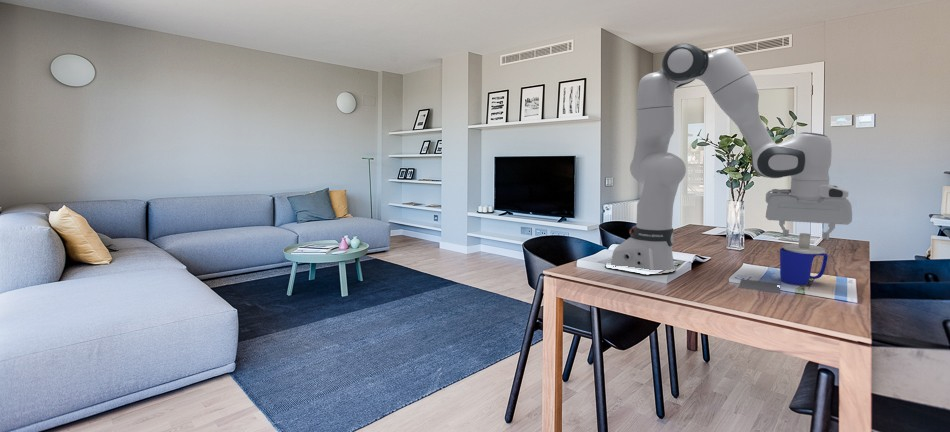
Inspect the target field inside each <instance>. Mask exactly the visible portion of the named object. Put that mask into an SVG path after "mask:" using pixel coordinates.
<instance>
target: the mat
mask: <svg viewBox="0 0 950 432" xmlns="http://www.w3.org/2000/svg"><path fill="white" fill-rule="evenodd" d="M777 285H781V286H782V284H781V283H779V282H778V283H776V282H769V281H761V280H753V279H745V278H741V279H740V282H739V284H738V289H746V290H753V291H762V292H768V293H774V294H775V293H776V294H781V287H780V288H779V287H777Z"/></svg>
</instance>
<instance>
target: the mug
mask: <svg viewBox="0 0 950 432" xmlns="http://www.w3.org/2000/svg"><path fill="white" fill-rule="evenodd" d="M817 256H823V259H822V264H821V268H820V271H819V273H818V274H816V275H813V276H812V275H811V273H812V272H811V271H812V267H813V263H814V262H813V261H814V258H815V257H817ZM828 257H829V254H827V253H826V252H825V253H823V254H803V253H795V252H790V251H786V250H784V249H783V247H780V249H779V263H780V264H779V273H780V274H779V275H780V276H779V277H780V281H782V282H783V283H785V284H789V285H794V286H804V285H805V286H806V285H807V284H808V283H809V281H810V279H814V280H818V279H820V278H821V277H823V275H824V273H825V270H826V268H827V263H828V259H829V258H828Z"/></svg>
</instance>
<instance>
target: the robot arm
mask: <svg viewBox="0 0 950 432" xmlns="http://www.w3.org/2000/svg"><path fill="white" fill-rule="evenodd" d="M696 80H700V81H702V83H704V85H705V86H706V87H707V89H708V90H709V93H710V94H711V96H712V98H713V99H714V101H715V102H716V104H717V105H718V107H719V108H720V109H721V110H722V111H723V113H725V114H726V115H727V117H729V119H731V121H733V122H734V123H735V125H736V126H737V128H738V130H739V131H740V133H741V135H742V137H743V139H744V141H745V142H746V144H747V146H748V148H749V150H750V155H751V157H750V158H751V159H750V161H751V167H752V169H753V171H754V172H755V174H757V175H759V176H760V177H762V178H768V179H769V178H770V179H781V178H784V177H789V176H790V177H791V180H790V189H786V188H785V189H782V188H781V189H780V188H779V189H777V188H773V189H771V190H768V191H767V192H766V194H765V202H766V204H767V206H766V212H765V218H766V219H767V221H779V222H778V225H779V227H780V228H781V230H782V236H783V237H789V235H790V234H789V233H790V229H786V228H785V226H784V225H785V224H786V222H794V223H795V222H797V223H798V222H799V223H813V224H828V227H829V228H828V229H827V230H826V231H822V237H821V239H822V240H830V234H831V233H832V232H833V231H834V230H835V228H836V225H846V226H847V225H850V224H851V223H852V221H853V210H852V209H853V207H852V203H851V202H850V200H849V199H848V198H849V190H847V189H846V188H843V187H839V186H837V185H831V184H830V175H829V170H830V167H831V165H832V155H833V153H832V150H833V149H832V142H831V139H830V138H829V137H828V136H827V135H825V134H823V133H822V134H821V133H814V132H800V133H798V134H796V135H795V136H793V137H791V138H789V139H787V140H785V141H781V142H778V143H776V142H775V141H774V140H773V139H772V137H771V135H770V133H769V132H768V130H767V127H765V124H764V122H763V121H762V118H761V117H760V112H759V98H760V95H759V91H758V88H757V84H756V82H755V80H754V78H753V76H752V74H751V73H750V71H749V70H748V68H747V67H746V65H745V64H744V62H743V61H742V60H741V58H740V57H739V56H738V55H737V54H736V53H735V52H734V51H733V50H732V49H730V48H728V47H724V48H723V47H722V48H719V49H715V50H714V51H712V52H710V53H709V52H707V51H705V50H704V49H701V48H699V47H697V46H695V45H693V44H690V43H683V42H682V43H677V44H675V45H673V46H671V48H669V49H668V50H667V51H666V53H665V54H664V55H663V58H662V61H661V68H660V70H658V71H656V72H650V73H647V74H646V75H644V76H643V77H641V79H640V81H638V86H637V95H636V140H635V147H634V152H633V156H632V161H631V162H630V164H629V165H630V166H629V171H630V174H631V176H632V177H633V179H635V181H637V182H638V183H639V184H643V187H642V191H641V195H640V198H639V200H638V202H637V204H636V225H633V226H632V227H631V228H630V229H629V231H628V232H629V235H630V237H628V238H627V239H625V240H624V241H623V242H621V243H620V244H619V245H617V246H616V247H615V248H614V249H613V252H612V255H611V259H608V260H607V261H606V262H608V263H611V265H615V267H616V266H628V267H635V268H644V269H649V270H671V269H674V268H675V269H676V267H675V262H674V256H673V244H674V237H675V236H674V235H675V234H674V228H673V215H674V214H673V213H674V203H675V199H676V196H677V192H678V189H679V185H680V183H681V182H682V181H683V180H684V178H685V177H686V171H687V169H686V163H685V162H684V160H683V159H682V158H681V157H679V156H678V155H675V154H673V153H671V152H668V149H669V145H670V141H671V138H672V137H673V135H674V131H675V119H674V118H675V117H674V116H675V115H674V114H675V110H674V109H675V108H674V105H675V104H674V101H675V99H674V96H675V95H674V94H675V90H676V89H678V88H681V87H683V86H685V85H688V84H691V83H693V82H694V81H696ZM613 267H614V266H613Z"/></svg>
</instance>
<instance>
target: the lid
mask: <svg viewBox="0 0 950 432" xmlns="http://www.w3.org/2000/svg"><path fill="white" fill-rule="evenodd" d="M782 248H783V249H784V250H786V251H790V252H795V253H803V254H823V253H825V254H826V248H825V247H822V246H818V245H814V244H811V233H806V232H801V233H799V237H798V243H787V244H784V245H783V247H782Z"/></svg>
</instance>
